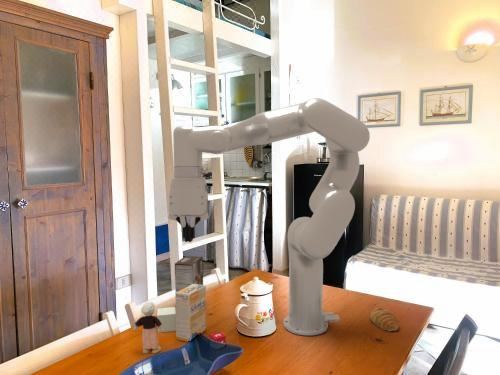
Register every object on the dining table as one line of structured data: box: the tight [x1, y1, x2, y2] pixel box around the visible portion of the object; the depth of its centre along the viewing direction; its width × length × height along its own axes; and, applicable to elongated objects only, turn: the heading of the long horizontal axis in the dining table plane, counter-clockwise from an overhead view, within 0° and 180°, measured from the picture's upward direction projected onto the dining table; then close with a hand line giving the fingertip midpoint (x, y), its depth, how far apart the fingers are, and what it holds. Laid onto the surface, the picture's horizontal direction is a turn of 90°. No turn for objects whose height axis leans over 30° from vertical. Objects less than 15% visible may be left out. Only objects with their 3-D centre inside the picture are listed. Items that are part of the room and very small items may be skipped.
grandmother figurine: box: [133, 301, 165, 354], centre depth 95 cm, size 8×4×13 cm, turn 98°
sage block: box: [156, 306, 176, 334], centre depth 108 cm, size 5×5×5 cm
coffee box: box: [174, 255, 204, 293], centre depth 121 cm, size 9×6×16 cm
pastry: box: [369, 306, 400, 332], centre depth 109 cm, size 9×7×4 cm
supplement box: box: [174, 284, 207, 343], centre depth 103 cm, size 8×5×13 cm, turn 155°
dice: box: [209, 331, 227, 344], centre depth 97 cm, size 3×3×3 cm
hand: (188, 240), depth 101 cm, fingers closed
